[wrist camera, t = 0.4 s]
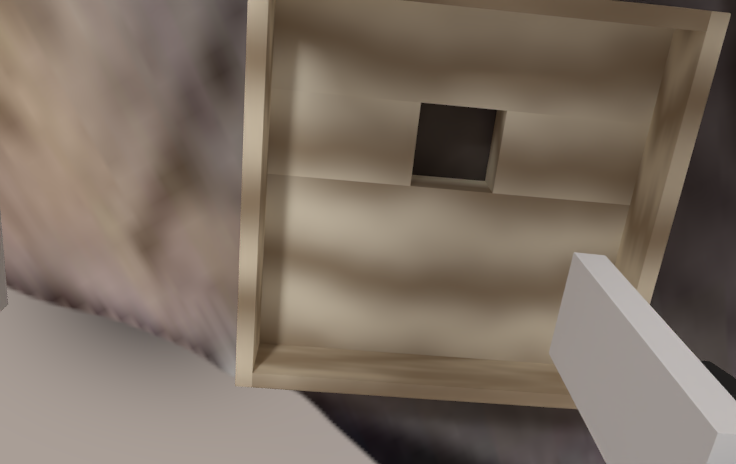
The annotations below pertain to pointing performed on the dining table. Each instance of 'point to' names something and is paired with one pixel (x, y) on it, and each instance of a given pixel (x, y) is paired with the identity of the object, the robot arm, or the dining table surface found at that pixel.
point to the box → (453, 184)
